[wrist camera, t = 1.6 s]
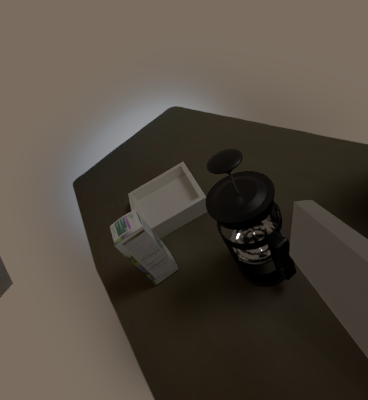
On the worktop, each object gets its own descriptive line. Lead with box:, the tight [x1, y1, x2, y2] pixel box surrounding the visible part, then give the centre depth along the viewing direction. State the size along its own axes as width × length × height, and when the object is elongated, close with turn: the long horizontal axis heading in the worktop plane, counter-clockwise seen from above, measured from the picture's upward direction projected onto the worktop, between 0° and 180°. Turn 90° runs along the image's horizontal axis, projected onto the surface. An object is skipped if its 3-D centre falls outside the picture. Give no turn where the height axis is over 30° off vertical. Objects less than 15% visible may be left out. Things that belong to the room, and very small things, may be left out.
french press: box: [206, 149, 296, 286], centre depth 34 cm, size 12×9×23 cm
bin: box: [128, 162, 208, 239], centre depth 61 cm, size 18×18×4 cm
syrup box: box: [110, 210, 179, 285], centre depth 45 cm, size 6×6×14 cm
